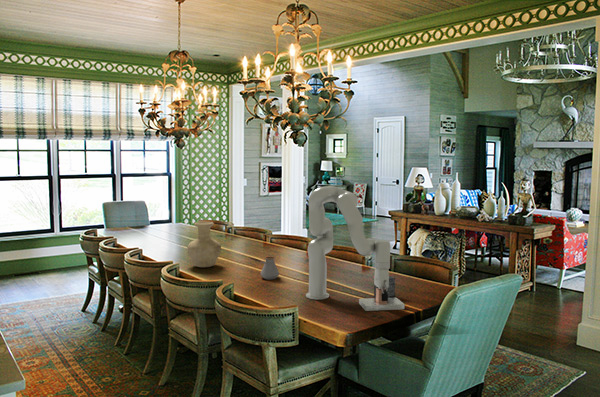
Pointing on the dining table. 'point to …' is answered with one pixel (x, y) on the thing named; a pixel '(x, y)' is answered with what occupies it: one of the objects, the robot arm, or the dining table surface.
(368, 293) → the dining table surface
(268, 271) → the coffee pot
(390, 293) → the small box
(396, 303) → the white rectangular slab
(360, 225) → the robot arm
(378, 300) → the square peg
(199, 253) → the vase
